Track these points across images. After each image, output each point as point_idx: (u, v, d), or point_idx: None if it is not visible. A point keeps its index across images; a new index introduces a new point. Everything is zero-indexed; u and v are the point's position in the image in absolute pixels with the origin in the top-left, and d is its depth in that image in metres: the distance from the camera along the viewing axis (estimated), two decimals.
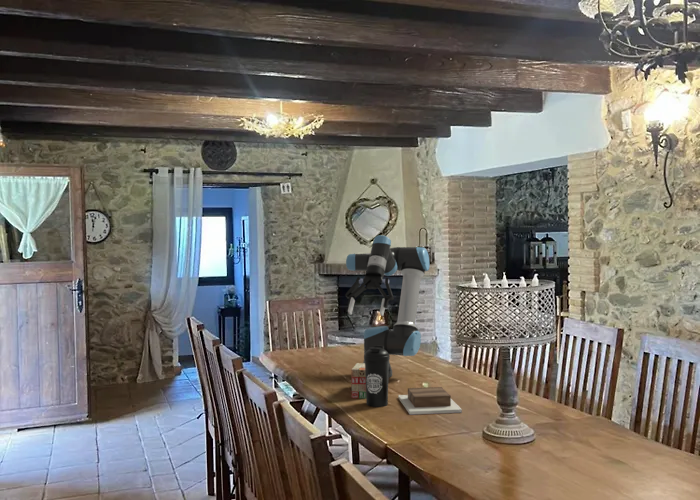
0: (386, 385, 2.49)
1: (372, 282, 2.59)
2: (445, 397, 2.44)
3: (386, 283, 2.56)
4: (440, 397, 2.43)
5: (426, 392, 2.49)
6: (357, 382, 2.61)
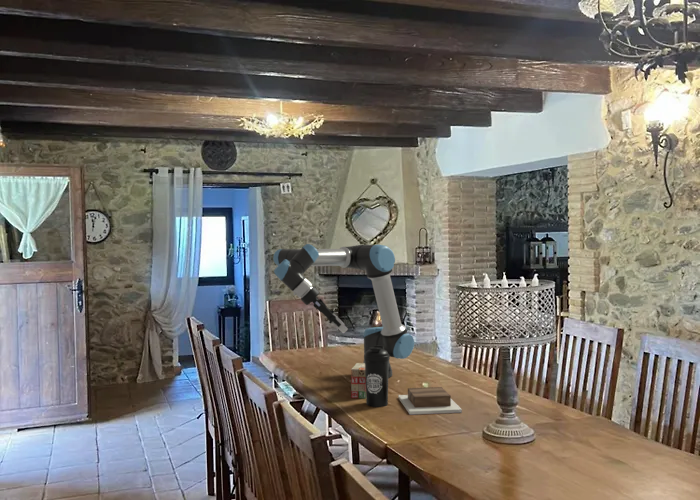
0: (386, 385, 2.49)
1: None
2: (445, 397, 2.44)
3: (318, 309, 2.47)
4: (440, 397, 2.43)
5: (426, 392, 2.49)
6: (357, 382, 2.62)
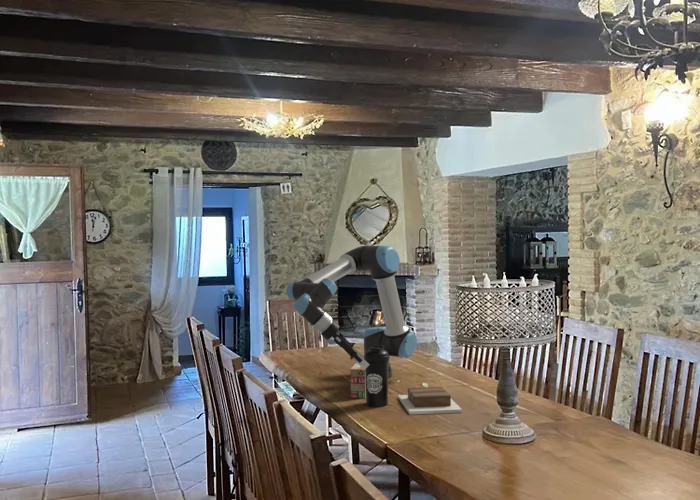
0: (386, 385, 2.49)
1: None
2: (445, 397, 2.44)
3: (339, 344, 2.43)
4: (440, 397, 2.43)
5: (426, 392, 2.49)
6: (356, 382, 2.62)
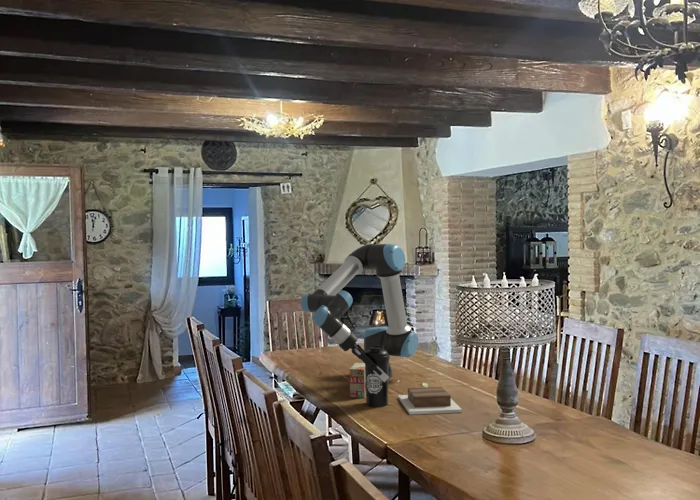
0: (386, 385, 2.49)
1: None
2: (445, 397, 2.44)
3: (359, 357, 2.45)
4: (440, 397, 2.43)
5: (426, 392, 2.49)
6: (355, 382, 2.62)
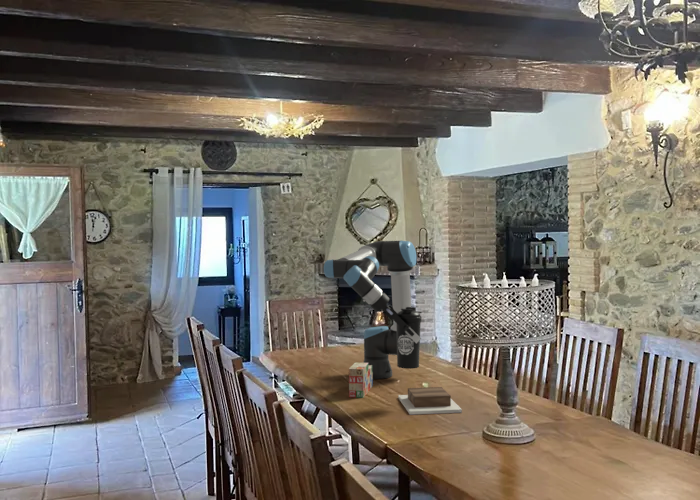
0: (418, 347, 2.46)
1: None
2: (445, 397, 2.44)
3: (391, 317, 2.42)
4: (440, 397, 2.43)
5: (426, 392, 2.49)
6: (354, 382, 2.63)
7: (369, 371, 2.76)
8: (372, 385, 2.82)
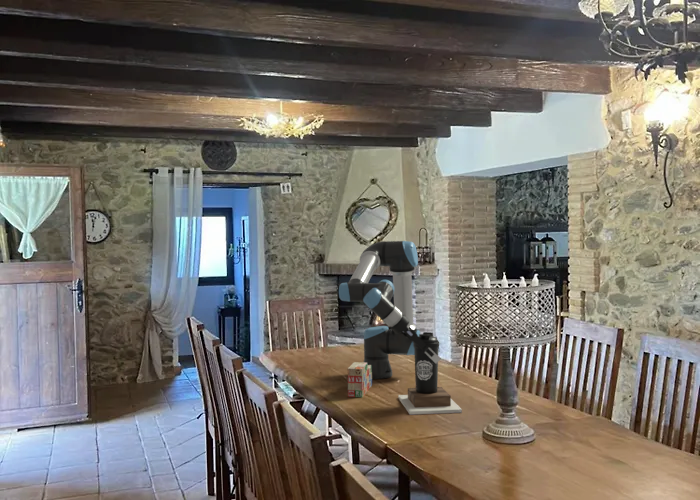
0: (436, 372, 2.48)
1: (407, 335, 2.48)
2: (445, 397, 2.44)
3: (411, 339, 2.42)
4: (440, 397, 2.43)
5: None
6: (353, 381, 2.63)
7: (368, 371, 2.77)
8: (371, 385, 2.83)
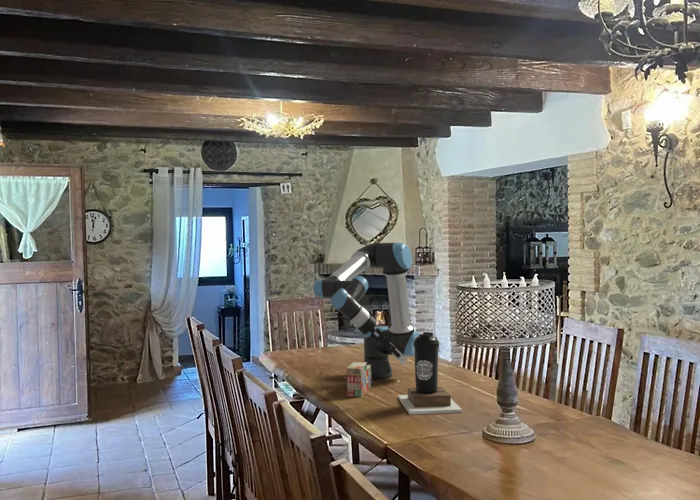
0: (436, 372, 2.48)
1: None
2: (445, 397, 2.44)
3: (377, 339, 2.41)
4: (440, 397, 2.43)
5: None
6: (352, 381, 2.64)
7: (367, 371, 2.77)
8: None
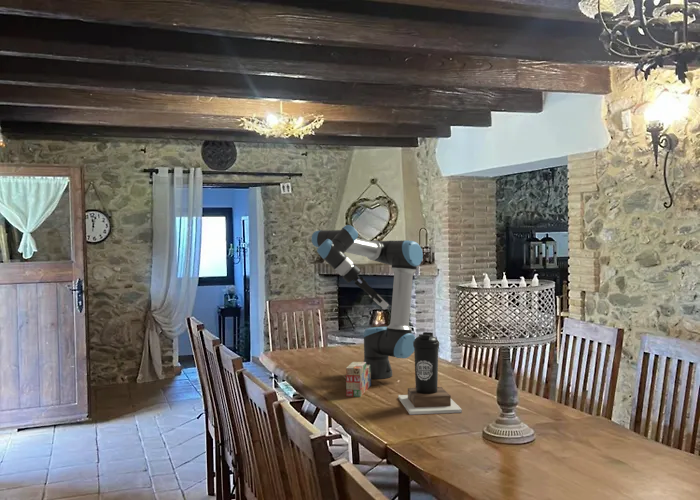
0: (436, 372, 2.48)
1: None
2: (445, 397, 2.44)
3: (360, 286, 2.58)
4: (440, 397, 2.43)
5: None
6: (352, 381, 2.64)
7: (367, 370, 2.78)
8: (370, 384, 2.84)
